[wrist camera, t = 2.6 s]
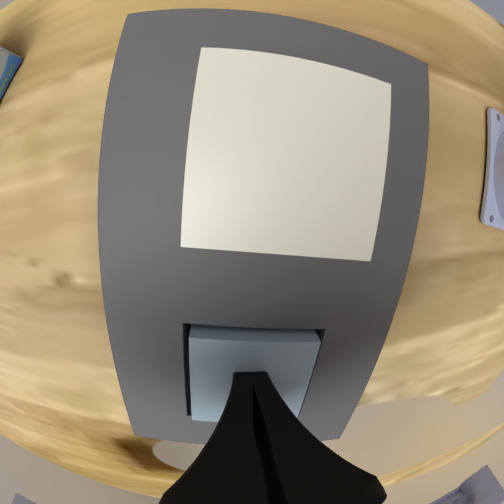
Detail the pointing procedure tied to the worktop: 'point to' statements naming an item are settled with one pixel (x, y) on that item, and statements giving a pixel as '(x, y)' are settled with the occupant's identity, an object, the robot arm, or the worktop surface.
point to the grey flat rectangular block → (236, 262)
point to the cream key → (284, 156)
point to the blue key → (248, 363)
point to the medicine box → (7, 68)
